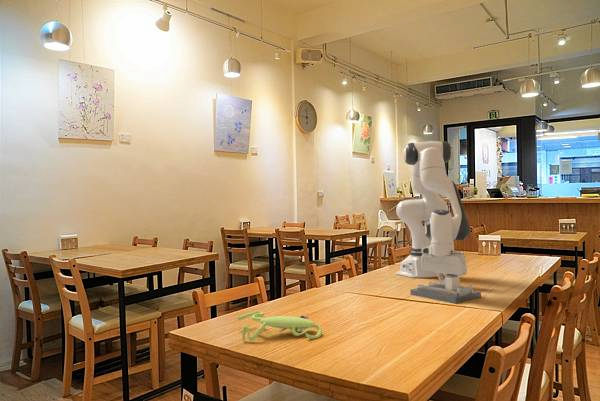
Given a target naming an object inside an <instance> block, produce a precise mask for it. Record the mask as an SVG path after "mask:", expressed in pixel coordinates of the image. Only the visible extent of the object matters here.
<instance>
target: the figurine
mask: <svg viewBox="0 0 600 401" xmlns="http://www.w3.org/2000/svg"><path fill="white" fill-rule="evenodd" d="M249 317H251V320H252V321H255V322H260V323H261V325H260V327H259V328H258V329H257V330H256V331H255V333H254V334H253V335H250V328H249V325H248V324H247V325H244V326H243V328H242V330H241V331H242V332H241V333H242V342H243V341H244V340H245V341H246V332H247V338H248V340H249V341H255V340H256V339H257V337H258V336H259V335H260V334H261V333H262V332H263V330H264V329H265V327H266V326H267V327H271V328H275V329H276V328H277V329H279V330H278V333H282V332H284V331H286V330H290V331H291V334H292V335H294V336H295V337H300V336H302V335H304V334H305V337H306V338H308V339H310V340H315V339H314V338H317V339H319V338H321V336H322V335H323V330H322V327H321V325H320V324H315V323H314V321H312V320H310V319H309V316H305V315H300V317H298V316H287V315H286V316H283V315H281V316H280V315H279V316H269V317H265V313H264V312H261V311H251V312H248V313H245V314H243V315H240V316H237V320H238V321H241V320H244V319H245V318H249ZM306 328H307V329H306ZM311 328H316V329H317V331H318V332H317V334H316V335H311V334H309V333H308V331H309V330H310V329H311ZM298 330H299V331H300V333H299V332H298ZM296 331H297V332H296ZM318 337H319V338H318Z"/></svg>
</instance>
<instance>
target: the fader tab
mask: <svg viewBox="0 0 600 401" xmlns="http://www.w3.org/2000/svg"><path fill="white" fill-rule="evenodd" d="M444 279H445V284H444V285H445V287H446V289H448V290H454V291H457V288H459V287H460V285H461V282H460V279H461V278H460V276H459V275H452V274H449V275H446V277H445V276H444Z"/></svg>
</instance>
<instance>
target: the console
mask: <svg viewBox="0 0 600 401" xmlns="http://www.w3.org/2000/svg"><path fill="white" fill-rule="evenodd" d="M463 286H464V287H459V288H457V291H454V290H448V289H446V287H445V284H440V283H437V282H431V281H430V282H428V285H424V284H417V287H416V288H412V289H410V295H412V296H417V297H421V298H422V297H423V298H427V299H431V300H436V301H441V302H445V303H452V304H458V303H464V302H467V301H471V300H474V299H478V298H482V291H478V290H474V289H473V285H471V284H469V285H463Z"/></svg>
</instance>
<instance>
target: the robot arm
mask: <svg viewBox="0 0 600 401" xmlns="http://www.w3.org/2000/svg"><path fill="white" fill-rule="evenodd" d="M452 151H453V150H452V147H451V144H450V143H449V142H448V141H445V140H440V141H437V140H427V141H418V142H410V143H406V144H405V146H404V148H403V151H402V158H403V160H404V163H406V164H407V165H408V166H409V165H410V166H411V189H412V191H414V192H415V193H416V194H418V195H421V196H423V197H422V198H419V199H417V198H416V199H405V200H401V201H399V202H398V204H397V205H396V210H395V211H396V216H397V217H398V219H399V220H401V221H402V222H403V223H404V224H405V225H406V226H407V227H408V229H409V232H410V238H411V246H412V247H411V248H409V249H408V250H407V251H408V252H409V255H408V256H407V257H405V259H403V260H402V261H401V262H400V266H399V270H396V272H395V274H396V275H399V276H404V277H408V278H414V279H415V278H424V279H425V278H436V277H437V278H438V280H439V284H444V285H445V277H446V275H449V274H452V275H458V276H459V277H460V276H462V277H463V276H465V275H467V274H468V268H467V267H468V266H467V262H466V255H464V254H465V253H464V254H463V253H462V251H456V250H455V241H464V240H466V239H467V238H468V237H469V236H470V235H471V225H470V222H469V220H468V217H467V214H466V211H465V208H464V204H463V203H462V202H463V201H462V198H461V195H460V193H459V189H458V187H457V184H456V183H455V181H452V180H451V179H450V177H449V175H448V174H447V170H446V163H449V162H450V160H451V158H452V153H453V152H452ZM439 195H441V196H443V197H445V198H447V199H448V201H449V202H450V206H451V209H452V212H453V215H454V216H452V213H451V211H449V206H448V203H447V202H446V200H444V199H443V198H441V196H439ZM423 221H425V222H424V223H423V224H424V225H423V224H422V222H423ZM462 254H463V255H462ZM443 275H444V276H443Z"/></svg>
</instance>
